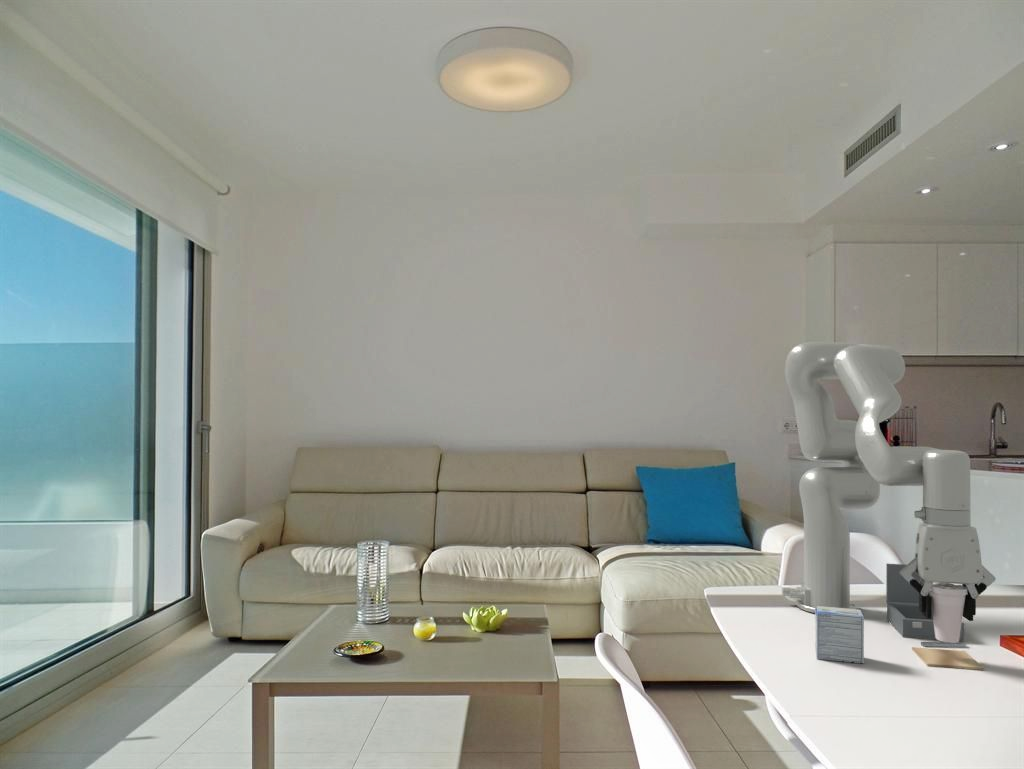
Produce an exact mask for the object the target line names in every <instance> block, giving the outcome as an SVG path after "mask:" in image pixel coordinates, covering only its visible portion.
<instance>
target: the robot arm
mask: <svg viewBox="0 0 1024 769" xmlns="http://www.w3.org/2000/svg"><path fill="white" fill-rule="evenodd" d="M905 373H906V362H905V360H904V357H903V355H902V354H901V353H900V352H899V351H898V350H897V349H896V348H894V347H892V346H890V345H889V346H888V345H875V344H865V343H857V342H840V341H839V342H837V341H836V342H835V341H834V342H833V341H806V342H802V343H800V344H797V345H795V346H794V347H793V348H792V349H791V350H790V351H789V352H788V354H787V357H786V361H785V365H784V376H785V381H786V384H787V388H788V391H789V393H790V396H791V398H792V402H793V407H794V414H795V421H796V427H797V433H798V435H797V436H798V440H799V441H798V442H799V446H800V450H801V453H802V455H803V456H804V457H805V459H807V460H809V461H812V462H823V463H825V462H841V463H842V466H822V467H813V468H811V469H808V470H807V471H806V472H805V473H803V474H802V476H801V477H800V480H799V484H798V485H799V486H798V489H799V496H800V501H801V506H802V511H803V512H802V513H803V514H802V515H803V583H800V586H796V587H795V588H794V587H793V588H791V587H783V586H782V587H781V595H782V597H789V598H790V599H796V606H797V607H798V608H799V609H801V610H803V611H806V612H809V613H811V614H812V613H813V614H815V608H816V606H823V607H835V608H847V609H856V610H858V606H857V604H855V603H854V602H851V601H850V599H851V598H850V596H851V592H850V591H851V590H850V589H851V588H850V587H851V583H850V582H851V581H850V580H851V577H850V576H851V573H850V572H851V558H850V557H851V553H850V552H851V538H850V537H851V533H850V528H849V525H848V523H847V521H846V519H845V518H844V516H843V513H842V510H860V509H861V510H862V509H869V508H872V507H873V506H874V505H876V503H877V502H878V500H879V499H880V495H881V494H880V493H881V485H882V486H886V487H920V486H921V487H922V506H921V510H920V509H919V510H915V511H914V513H913V514H914V518H915V519H919V520H921V521H922V523H919V525H918V529H917V531H916V532H917V534H916V538H915V546H914V558H913V559H912V560H911V561H910V562H908V563H907V564H905V565H906V566H905V567H904V568H903V569H902V570H901V571H900V575H901V576H902V577H903V578H904V579H905V580H906V581H907V582H909V584H910V585H911V586H913V587H914V588H915V589H916V590H917V592H919V611H920V612H922V615H923V616H925V617H926V618H929V619H930V618H931V597H930V596H929V591H930V588H931V586H932V584H933V582H937V583H954V584H959V585H962V586H965V587H966V588H967V593H968V594H967V595H965V603H964V609H963V617H962V618H964V619H966V620H967V621H969V622H973V621H974V616H976V614H977V611H976V610H977V609H976V608H977V607H976V606H977V605H976V603H977V602H976V601H977V600H976V599H979V596H980V595H981V594H982V593H983V592H984V591H985V590H987V588H988V587H989V586H991V585H992V584H993V583H994V582H996V576H995V575H994V574H992V573H991V572H990V571H989V570H988V569H987V568H986V566H984V565H983V564H982V563H983V562H982V553H981V545H980V541H979V536H978V535H979V534H978V531H977V528H976V527H975V526H971V521H972V520H971V519H972V518H971V459H970V456H969V454H968V453H967V452H965V451H961V450H956V449H955V450H954V449H952V450H951V449H939V448H935V447H932V446H931V447H930V446H908V445H907V446H902V445H901V446H897V445H896V446H895V445H894V446H891V445H889V443H888V441H887V440H886V438H885V436H884V434H883V432H882V430H881V428H880V427H881V426H880V423H883V422H885V421H887V420H888V419H889V418H892V416H894V415H895V414H897V412H898V411H899V410H900V408H901V406H902V397H901V396H900V394H899V392H898V391H897V389H896V387H895V386H894V385H895V384H897V383H898V382H900V381H901V380H902V379H903V378H904V376H905ZM821 379H822V380H839V381H840V383H841V385H842V386H843V389H844V390H845V392H846V393H847V395H848V397H849V399H850V401H851V403H852V404H853V406H854V408H855V410H856V411H857V413H858V415H859V417H858V420H857V421H856V420H850V419H839V418H837V415H836V410H835V405H834V404H835V403H834V399H833V397H832V396H831V394H830V393H829V391H828V389H827V388H826V387H825V386H824V385H823V384H822V383H821V382H820V380H821ZM914 571H915V573H916V574H917V575H918V576H920V577H921V579H920V581H919V582H918V581H916V580H915V579H914V578H913V577H912V575H911V574H912V573H913V572H914Z"/></svg>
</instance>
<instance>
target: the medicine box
mask: <svg viewBox="0 0 1024 769" xmlns="http://www.w3.org/2000/svg"><path fill="white" fill-rule="evenodd" d="M814 614H815V615H814V616H815V617H814V618H815V620H814V624H815V626H814V627H815V628H814V630H815V634H814V635H815V640H814V641H815V643H814V644H815V655H816V656H815V658H816V659H817V660H823V661H824V660H825V661H835V662H842V661H844V663H851V662H854V663H853V664H860V663H863V664H865V655H864V654H865V651H864V649H865V644H864V643H865V641H864V639H865V638H864V637H865V633H864V632H865V626H864V625H865V624H864V623H865V618H864V615H863V612H862V610H860V609H857V610H856V609H847V608H835V607H823V606H816V608H815V613H814ZM863 664H862V665H863Z"/></svg>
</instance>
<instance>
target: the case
mask: <svg viewBox="0 0 1024 769" xmlns="http://www.w3.org/2000/svg"><path fill="white" fill-rule="evenodd" d="M906 565H907V564H903V563H902V564H901V563H886V566H885V568H886V569H885V571H886V577H885V578H886V599H885V600H886V608H887V609H886V610H887V611H886V620H888V621H889V622H890V623H891V624H892V625H891V624H890V623H889V622H888V621H887V622H888V623H889V624H890V625H891V626H892V627H893V628H894V629H895V630H896V631H897V632H898V633H899V634H900V635H901V637H903V638H915V639H927V640H928V639H929V640H937V639H936V638H935V630H934V623H933V615H932V608H931V618H930V619H929V618H926V617H925V616H923V615H922V612H920V611H919V592H917V590H916V589H915V588H914V587H913V586H911V585H910V584H909V582H907V581H906V580H905V579H904V578H903V577H902V576H901V575H900V571H901V570H902V569H903V568H904V567H905V566H906ZM911 575H912V577H913V578H914V579H915V580H916V581H918V582H919V581H920V579H921V577H920V576H918V575H917V574H916V573H915V571H914V572H913V573H912V574H911ZM929 596H930V592H929ZM959 642H965V622H964V621H962V624H961V631H960V638H959Z"/></svg>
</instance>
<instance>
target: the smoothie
mask: <svg viewBox="0 0 1024 769" xmlns="http://www.w3.org/2000/svg"><path fill="white" fill-rule="evenodd" d="M929 592H930V597H931V608H932V615H933V623H934V630H935V638H936V639H935V640H936V641H939V642H949V643H957V642H960V641H959V638H960V631H961V624H962V622H963V618H964V617H963V609H964V603H965V595H967V594H968V593H967V588H966V587H965V586H963V585H962V584H954V583H937V582H933V584H932V586H931V588H930V591H929Z"/></svg>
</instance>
